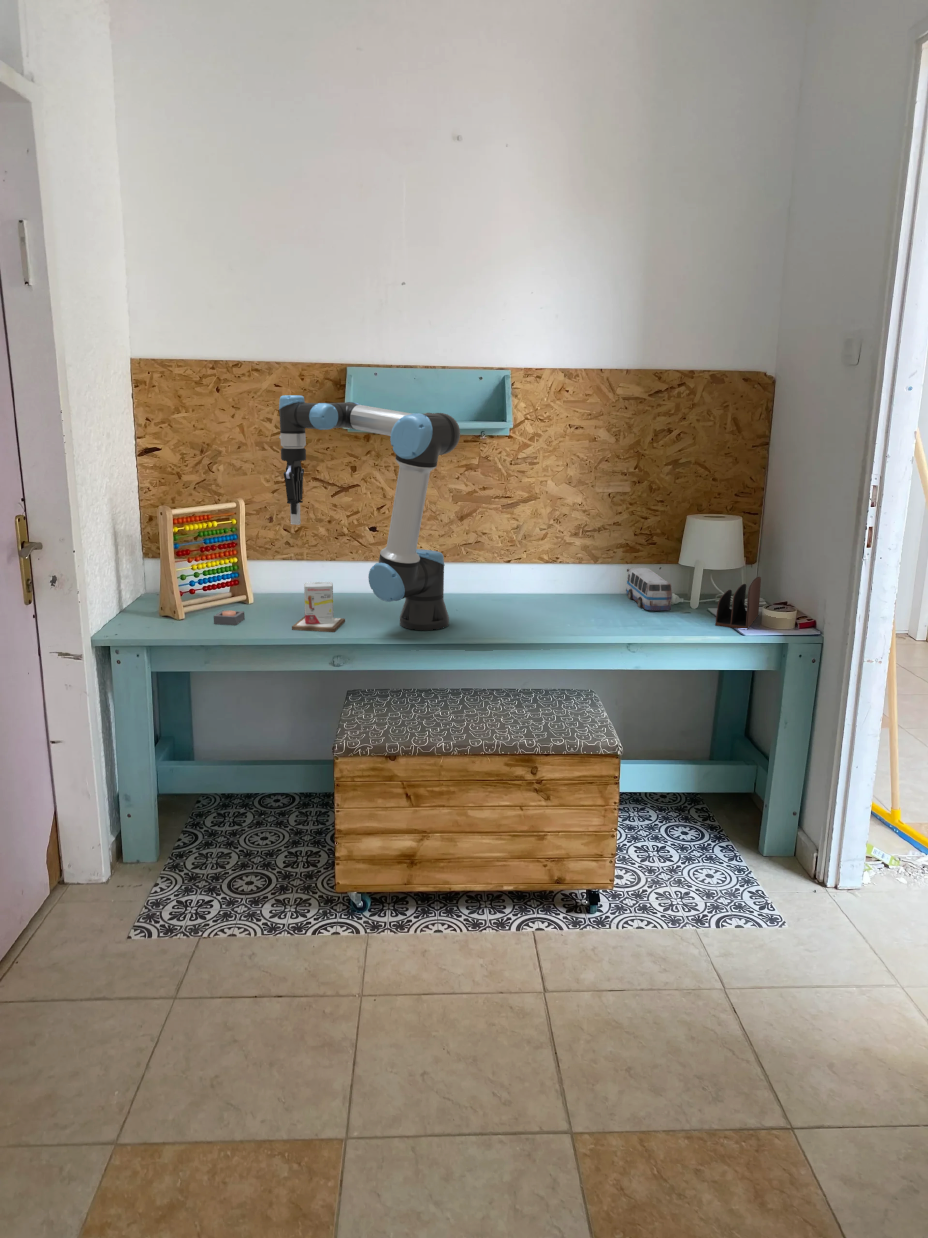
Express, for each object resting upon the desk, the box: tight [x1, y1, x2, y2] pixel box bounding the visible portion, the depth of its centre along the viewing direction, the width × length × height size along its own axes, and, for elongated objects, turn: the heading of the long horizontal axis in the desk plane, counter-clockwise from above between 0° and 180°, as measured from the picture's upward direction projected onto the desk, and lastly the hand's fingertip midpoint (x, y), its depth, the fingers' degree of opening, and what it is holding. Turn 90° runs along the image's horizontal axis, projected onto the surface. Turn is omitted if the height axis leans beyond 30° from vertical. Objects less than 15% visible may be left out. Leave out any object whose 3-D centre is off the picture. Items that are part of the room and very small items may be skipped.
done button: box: [222, 609, 237, 616], centre depth 279 cm, size 4×4×2 cm
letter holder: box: [714, 576, 762, 629], centre depth 289 cm, size 10×20×14 cm, turn 153°
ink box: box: [303, 581, 335, 624], centre depth 275 cm, size 9×5×12 cm, turn 100°
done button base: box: [213, 609, 246, 626], centre depth 279 cm, size 7×7×2 cm
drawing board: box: [291, 615, 346, 633], centre depth 276 cm, size 13×12×1 cm
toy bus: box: [625, 567, 673, 611], centre depth 310 cm, size 10×27×10 cm, turn 6°
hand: (295, 524), depth 284 cm, fingers closed
